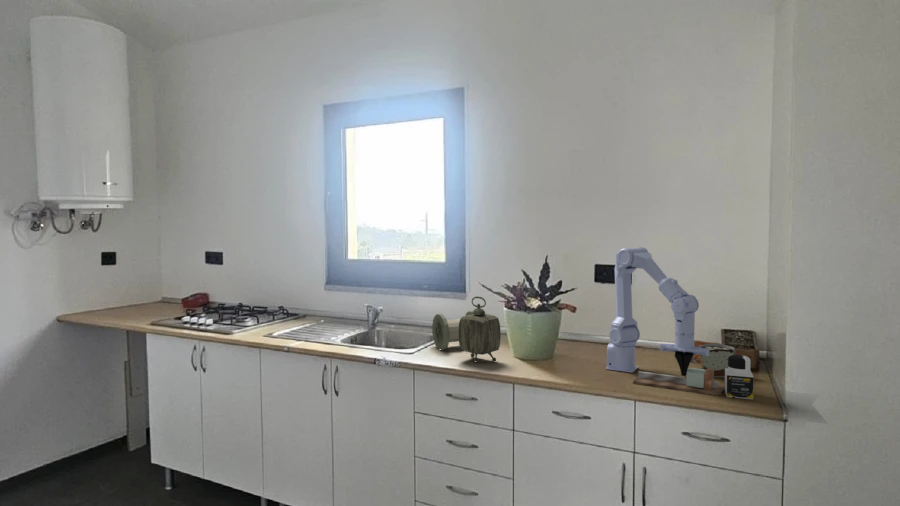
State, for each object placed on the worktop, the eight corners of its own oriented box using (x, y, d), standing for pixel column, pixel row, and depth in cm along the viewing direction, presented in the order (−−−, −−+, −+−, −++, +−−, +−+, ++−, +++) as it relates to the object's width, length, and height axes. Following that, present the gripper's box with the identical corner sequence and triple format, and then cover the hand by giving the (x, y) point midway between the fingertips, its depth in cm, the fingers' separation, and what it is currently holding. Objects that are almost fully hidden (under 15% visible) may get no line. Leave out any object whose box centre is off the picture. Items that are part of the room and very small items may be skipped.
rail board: (633, 383, 179) (633, 365, 179) (640, 375, 188) (640, 358, 188) (720, 396, 166) (721, 376, 165) (724, 387, 174) (724, 368, 174)
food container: (725, 371, 192) (726, 343, 191) (735, 376, 186) (735, 347, 185) (691, 372, 191) (691, 344, 191) (699, 377, 185) (700, 348, 185)
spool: (466, 342, 243) (466, 308, 242) (482, 349, 230) (481, 314, 229) (432, 346, 237) (431, 311, 236) (446, 353, 223) (445, 317, 222)
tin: (683, 361, 206) (683, 339, 206) (686, 359, 209) (686, 337, 208) (726, 368, 196) (726, 345, 196) (729, 366, 198) (729, 343, 198)
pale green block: (686, 385, 173) (686, 372, 172) (689, 381, 178) (689, 367, 177) (703, 388, 170) (703, 374, 170) (706, 383, 175) (706, 369, 175)
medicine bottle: (726, 397, 165) (727, 358, 164) (724, 390, 171) (725, 352, 170) (753, 399, 162) (754, 360, 161) (750, 392, 168) (751, 354, 168)
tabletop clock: (500, 361, 209) (500, 296, 207) (486, 366, 202) (485, 299, 201) (471, 356, 219) (471, 293, 217) (456, 360, 212) (455, 296, 210)
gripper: (658, 333, 175) (657, 375, 176) (707, 337, 167) (707, 381, 168) (662, 329, 181) (662, 369, 182) (710, 333, 173) (710, 375, 174)
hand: (684, 375), depth 176 cm, fingers closed
